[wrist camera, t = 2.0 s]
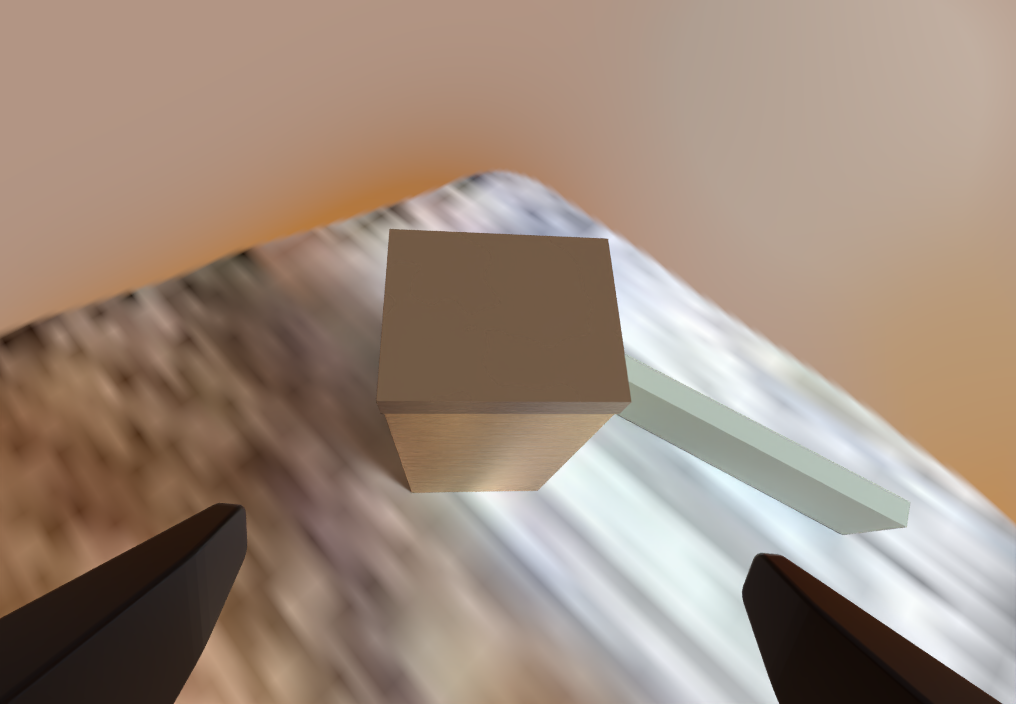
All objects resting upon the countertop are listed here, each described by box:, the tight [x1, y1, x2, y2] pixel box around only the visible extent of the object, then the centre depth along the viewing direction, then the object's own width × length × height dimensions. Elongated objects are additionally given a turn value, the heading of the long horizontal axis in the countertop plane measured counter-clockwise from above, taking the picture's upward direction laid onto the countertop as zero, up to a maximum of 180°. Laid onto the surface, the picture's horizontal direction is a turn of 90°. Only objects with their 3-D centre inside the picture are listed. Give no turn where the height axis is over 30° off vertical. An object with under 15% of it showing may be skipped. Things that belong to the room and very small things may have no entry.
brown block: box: [376, 229, 631, 493], centre depth 16 cm, size 5×4×11 cm
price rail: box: [617, 354, 910, 535], centre depth 21 cm, size 18×1×3 cm, turn 62°
